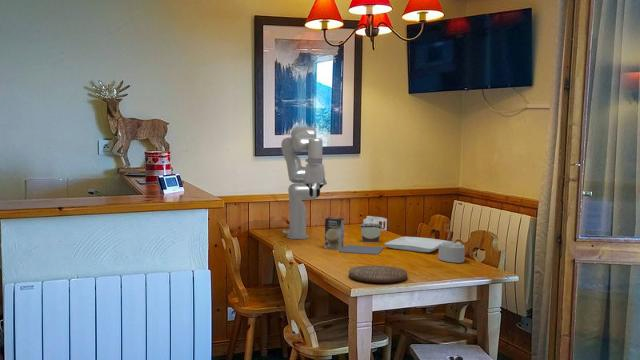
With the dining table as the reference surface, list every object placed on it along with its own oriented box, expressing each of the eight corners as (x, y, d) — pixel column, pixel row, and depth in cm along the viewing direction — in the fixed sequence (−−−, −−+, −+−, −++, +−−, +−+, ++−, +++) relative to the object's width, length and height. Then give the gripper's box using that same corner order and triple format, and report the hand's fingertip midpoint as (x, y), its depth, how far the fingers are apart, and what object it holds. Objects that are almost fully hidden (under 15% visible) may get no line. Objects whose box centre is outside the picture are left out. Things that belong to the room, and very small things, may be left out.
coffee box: (323, 248, 325) (324, 218, 324) (327, 246, 331) (328, 216, 330) (340, 250, 322) (341, 219, 321) (344, 248, 328) (344, 217, 327)
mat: (339, 252, 316) (339, 251, 316) (347, 245, 335) (347, 244, 335) (377, 254, 311) (378, 253, 311) (383, 247, 330) (383, 247, 330)
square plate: (403, 242, 351) (403, 235, 351) (450, 247, 337) (450, 240, 337) (383, 249, 328) (383, 242, 328) (432, 255, 314) (432, 247, 314)
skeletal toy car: (360, 227, 405) (360, 216, 405) (376, 226, 409) (376, 215, 408) (373, 231, 386) (373, 220, 386) (389, 231, 390) (389, 219, 389)
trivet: (406, 284, 251) (406, 279, 251) (345, 280, 256) (345, 276, 255) (408, 271, 276) (408, 267, 276) (352, 268, 280) (352, 264, 280)
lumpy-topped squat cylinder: (452, 256, 309) (452, 239, 309) (469, 261, 298) (470, 243, 297) (435, 258, 304) (436, 240, 304) (452, 263, 293) (453, 245, 292)
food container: (381, 241, 351) (382, 223, 351) (381, 243, 345) (382, 225, 345) (360, 240, 353) (360, 223, 352) (359, 242, 347) (360, 224, 346)
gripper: (298, 161, 324) (297, 196, 326) (328, 162, 320) (327, 197, 322) (302, 161, 332) (301, 195, 333) (331, 161, 328) (331, 196, 329)
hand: (314, 196), depth 327 cm, fingers closed
